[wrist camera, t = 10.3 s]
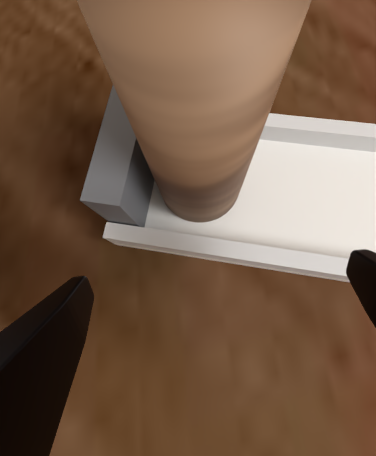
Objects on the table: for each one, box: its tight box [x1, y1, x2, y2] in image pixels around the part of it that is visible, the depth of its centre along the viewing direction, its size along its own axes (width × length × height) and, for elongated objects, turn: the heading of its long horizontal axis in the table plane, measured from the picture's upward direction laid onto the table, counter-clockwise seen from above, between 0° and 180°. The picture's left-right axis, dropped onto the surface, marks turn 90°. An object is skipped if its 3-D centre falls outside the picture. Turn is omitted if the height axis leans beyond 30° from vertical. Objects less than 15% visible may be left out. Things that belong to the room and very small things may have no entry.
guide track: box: [80, 85, 376, 282], centre depth 15 cm, size 24×10×6 cm, turn 81°
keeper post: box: [77, 0, 311, 223], centre depth 11 cm, size 6×6×12 cm
